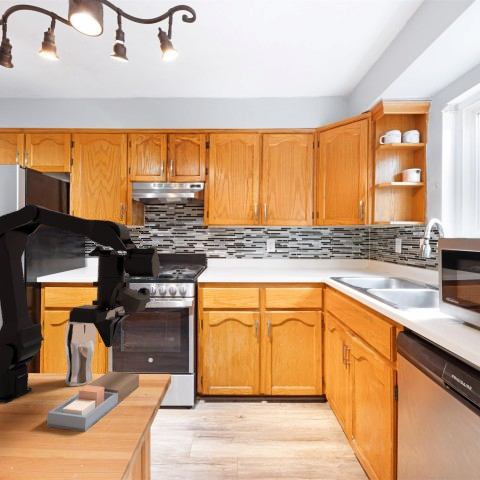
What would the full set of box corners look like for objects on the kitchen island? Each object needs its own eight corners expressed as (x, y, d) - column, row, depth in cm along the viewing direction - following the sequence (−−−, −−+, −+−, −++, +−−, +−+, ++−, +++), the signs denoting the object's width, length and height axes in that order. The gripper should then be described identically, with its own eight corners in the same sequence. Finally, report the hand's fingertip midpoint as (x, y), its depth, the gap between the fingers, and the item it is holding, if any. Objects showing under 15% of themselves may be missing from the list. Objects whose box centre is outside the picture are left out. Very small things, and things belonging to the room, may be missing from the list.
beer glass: (56, 383, 76) (59, 321, 77) (82, 373, 82) (85, 317, 83) (74, 389, 73) (77, 325, 73) (100, 379, 79) (102, 320, 79)
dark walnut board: (84, 400, 68) (84, 386, 68) (108, 383, 76) (109, 371, 76) (117, 404, 66) (118, 390, 66) (138, 386, 75) (139, 374, 75)
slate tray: (46, 426, 57) (47, 412, 57) (84, 400, 68) (84, 388, 68) (85, 431, 56) (85, 417, 56) (117, 404, 66) (118, 392, 66)
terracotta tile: (86, 404, 65) (78, 410, 62) (87, 385, 65) (79, 390, 62) (103, 406, 64) (96, 412, 62) (104, 387, 64) (97, 392, 62)
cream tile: (77, 398, 62) (76, 411, 62) (62, 408, 58) (62, 422, 58) (95, 400, 61) (94, 413, 61) (81, 410, 57) (81, 424, 57)
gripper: (119, 281, 59) (115, 364, 58) (163, 275, 77) (161, 338, 77) (68, 279, 61) (65, 359, 61) (123, 274, 80) (120, 335, 79)
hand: (108, 346), depth 69 cm, fingers closed
